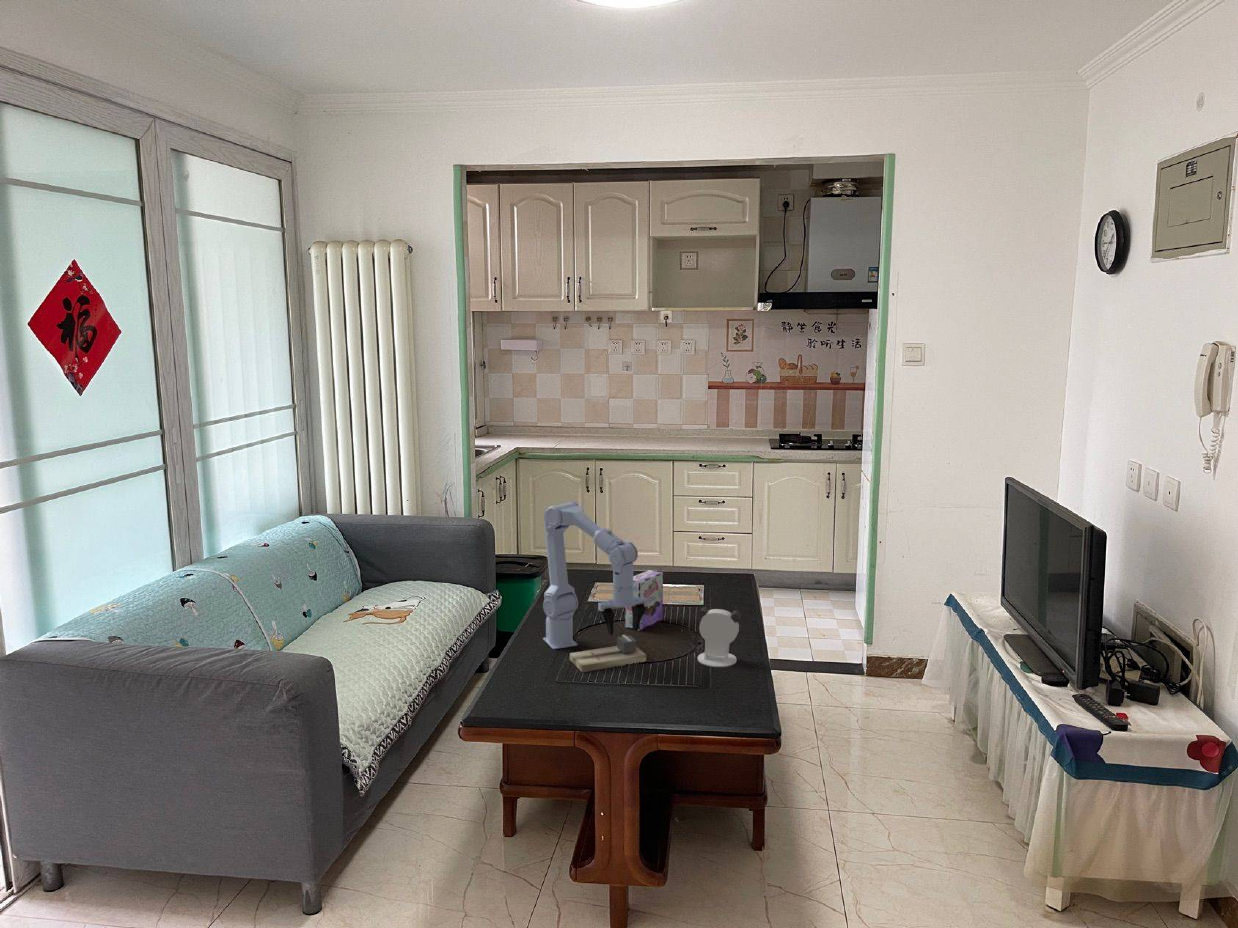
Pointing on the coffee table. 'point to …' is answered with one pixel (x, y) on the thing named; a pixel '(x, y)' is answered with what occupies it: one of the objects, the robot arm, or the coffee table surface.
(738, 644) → the coffee table surface
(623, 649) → the fader tab
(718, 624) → the panda figurine
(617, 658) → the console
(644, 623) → the candy box
